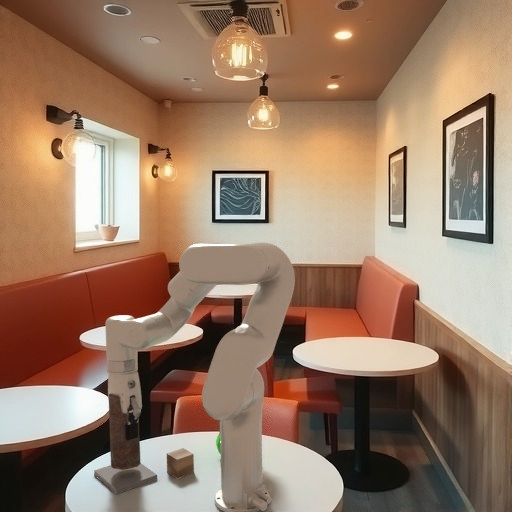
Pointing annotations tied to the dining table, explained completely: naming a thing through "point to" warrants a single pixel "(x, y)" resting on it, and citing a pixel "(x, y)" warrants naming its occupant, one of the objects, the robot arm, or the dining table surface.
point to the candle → (121, 438)
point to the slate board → (125, 477)
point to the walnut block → (180, 463)
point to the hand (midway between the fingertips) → (124, 433)
